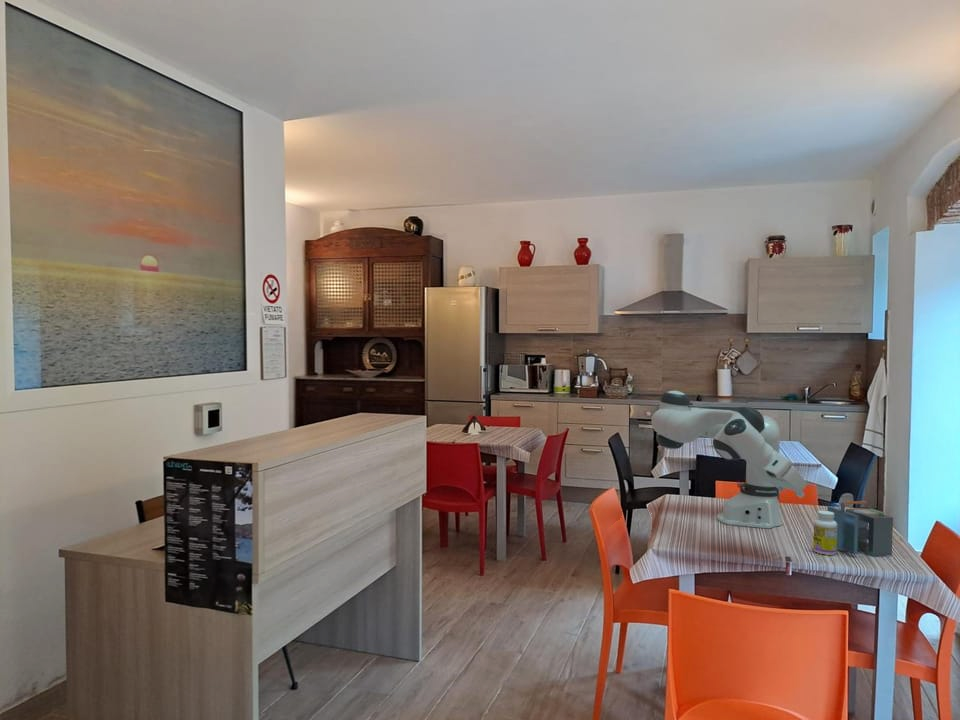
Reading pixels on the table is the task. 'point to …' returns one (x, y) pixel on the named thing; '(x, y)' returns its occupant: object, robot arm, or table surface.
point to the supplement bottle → (825, 533)
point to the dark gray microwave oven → (875, 531)
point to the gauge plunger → (848, 528)
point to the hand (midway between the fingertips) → (792, 492)
